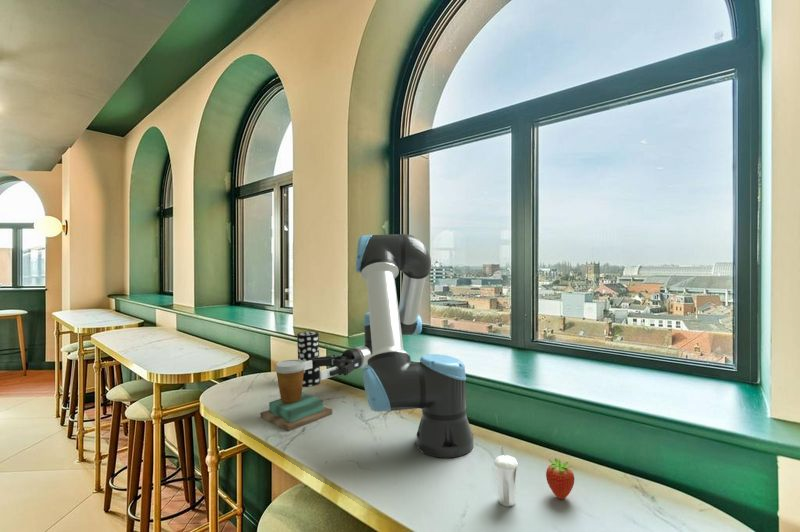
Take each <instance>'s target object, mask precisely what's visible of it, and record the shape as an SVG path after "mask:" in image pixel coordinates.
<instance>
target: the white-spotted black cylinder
mask: <svg viewBox="0 0 800 532" xmlns="http://www.w3.org/2000/svg"><path fill="white" fill-rule="evenodd" d="M296 338H297V339H296V340H297V360H302V361H303V362H306V361H308V359H309V358H316V357H320V340H319V339H320V338H319V332H318V331H303V332H298V333H297V334H296ZM320 367H321V366H320ZM320 367H312V369H307V370H304V374H303V386H302V388H303V387H305V388H308V387H315V386H318V385H319V384H320V383H321V380H320V371H321V368H320Z"/></svg>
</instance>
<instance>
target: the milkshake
mask: <svg viewBox="0 0 800 532" xmlns="http://www.w3.org/2000/svg"><path fill="white" fill-rule="evenodd" d="M518 467H519V463H518V461H517V459H516V457H514V456H511V455H504V447H503V445H500V455H498V456H497V457H496V458H495V459H494V468H495V476H496V489H497V499H498V502H499V504H500V505H502V506H504V507H512V506H514V505H515V503H516V494H517V482H518V481H517V477H518Z"/></svg>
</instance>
